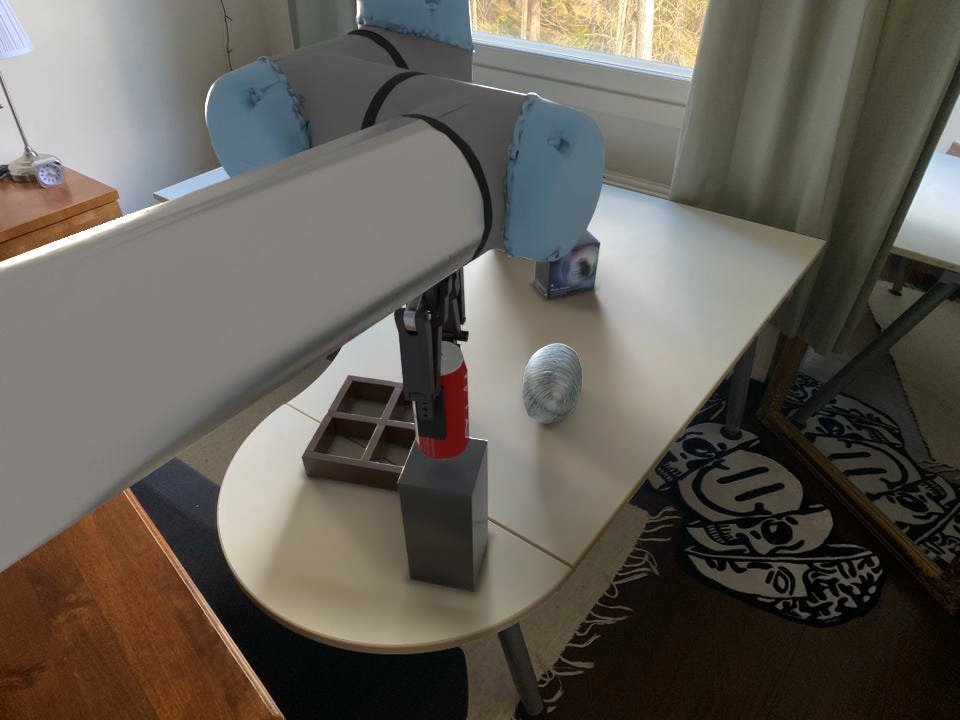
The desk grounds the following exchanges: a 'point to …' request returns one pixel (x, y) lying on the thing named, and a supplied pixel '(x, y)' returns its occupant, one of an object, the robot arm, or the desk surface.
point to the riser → (446, 515)
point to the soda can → (450, 406)
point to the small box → (569, 270)
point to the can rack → (361, 435)
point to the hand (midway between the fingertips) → (441, 413)
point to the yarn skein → (552, 383)
